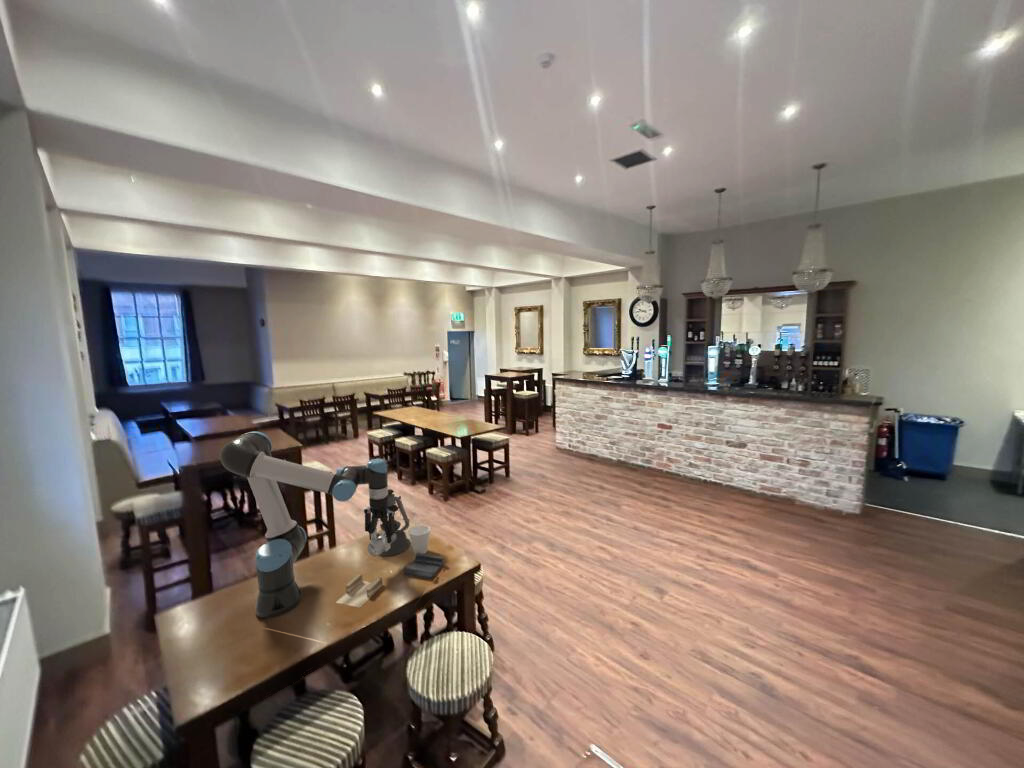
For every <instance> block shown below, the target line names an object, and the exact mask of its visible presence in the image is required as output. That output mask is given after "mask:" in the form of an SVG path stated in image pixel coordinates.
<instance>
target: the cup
mask: <svg viewBox="0 0 1024 768" xmlns="http://www.w3.org/2000/svg"><path fill="white" fill-rule="evenodd" d="M407 530H408V531H407V533H408V534H409V540H410V542H411V548H412V551H413V554H414V556H415V555H416V554H417V553H420V554H426V553H427V552H428V550H429V549H428V548H429V539H430V531H431V527H430V526H429V525H425V524H417V525H414V526H411V527H410V528H408V529H407Z"/></svg>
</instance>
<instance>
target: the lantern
mask: <svg viewBox="0 0 1024 768" xmlns="http://www.w3.org/2000/svg"><path fill="white" fill-rule="evenodd" d="M388 487H389V488H388V508H389V510H390V511H395V515H397V514H398V512H399V515H400V516H399V517H398V519H395V518H394V520H395V530H396V532H395V533H396V536H397V537H396V540H395V541H394V542H393V543H392V544H391V545H390V549H389V550H388V551H385V550H384V551H383V552H382V553H381V554H379V555H378V557H379V556H380V557H394V556H398V555H401V554H402V552H403V553H405V552H406V551H407V550H409V548H410V547H411V545H412V544H411V540H410V538H408V536H407V534H406V531H407V530H409V527H410V519H409V517H408V515H407V512H406V511H405V508H404V505H403V503H402V496H401V495H399V496H395V493H394V492H395V491H394V489H392V488H391V487H390V485H389V486H388ZM396 504H397V505H396ZM397 511H398V512H397ZM387 515H388V513H387ZM401 516H402V520H403V521H404V523H405V525H404V526H403V527H401V525H402V524H401V523H402V522H400V521H398V520H399V518H400V517H401ZM379 521H380V524H379V527H380V532H377V530H378V528H377V527H378V523H379ZM388 522H389V520H388ZM400 528H401V529H400ZM374 531H376V538H377V537H379V536H380V535H381V534H382V533H384V532H385V530H384V527H383V524H382V521H381V520H380V519H379V518H377V522H376V526H375V530H374ZM410 544H411V545H410ZM405 550H406V551H405ZM400 553H401V554H400Z"/></svg>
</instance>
